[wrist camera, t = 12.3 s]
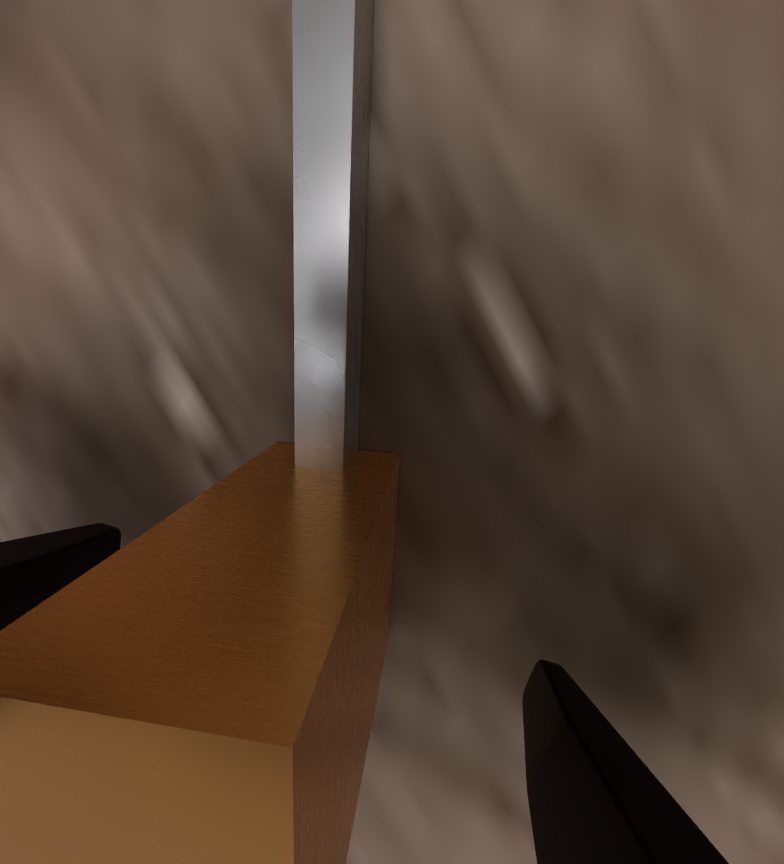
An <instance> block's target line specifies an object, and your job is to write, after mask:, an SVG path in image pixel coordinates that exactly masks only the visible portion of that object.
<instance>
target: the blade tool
mask: <svg viewBox="0 0 784 864" xmlns="http://www.w3.org/2000/svg"><path fill="white" fill-rule="evenodd" d="M373 14H374V0H292V30H293V212H294V395H295V444H289V443H278V442H277V443H275V444H274V445H272V446H271V447H269V448H268V449H266V450H265V451H264V452H262V453H261V454H259V455H258V456H256V457H255V458H253V459H252V460H250V461H249V462H247V463H246V464H244V465H243V466H242V467H240V468H239V469H237V470H236V471H234V472H233V473H231V474H230V475H228V476H227V477H225V478H224V479H222V480H221V481H220V482H218V483H217V484H215V485H214V486H212V487H211V488H209V489H208V490H206V491H205V492H203V493H202V494H200V495H199V496H198V497H196V498H195V499H193V500H192V501H190V502H189V503H187V504H186V505H184V506H183V507H181V508H180V509H178V510H177V511H176V512H174V513H173V514H171V515H170V516H168V517H167V518H165V519H164V520H162V521H161V522H159V523H158V524H156V525H155V526H153V527H152V528H151V529H149V530H148V531H146V532H145V533H143V534H142V535H140V536H139V537H137V538H136V539H134V540H133V541H131V542H130V543H129V544H127V545H126V546H124V547H123V548H121V549H120V550H118V551H117V552H115V553H114V554H112V555H111V556H109V557H108V558H107V559H105V560H104V561H102V562H101V563H99V564H98V565H96V566H95V567H93V568H92V569H90V570H89V571H87V572H86V573H85V574H83V575H82V576H80V577H79V578H77V579H76V580H74V581H73V582H71V583H70V584H68V585H67V586H65V587H64V588H62V589H61V590H60V591H58V592H57V593H55V594H54V595H52V596H51V597H49V598H48V599H46V600H45V601H43V602H42V603H40V604H39V605H38V606H36V607H35V608H33V609H32V610H30V611H29V612H27V613H26V614H24V615H23V616H21V617H20V618H18V619H17V620H16V621H14V622H13V623H11V624H10V625H8V626H7V627H5V628H4V629H2V630H1V631H0V864H346V859H347V854H348V849H349V843H350V838H351V833H352V827H353V822H354V817H355V811H356V806H357V801H358V795H359V790H360V785H361V779H362V774H363V769H364V763H365V758H366V753H367V747H368V742H369V736H370V731H371V726H372V720H373V715H374V710H375V704H376V699H377V694H378V688H379V683H380V678H381V672H382V667H383V662H384V656H385V651H386V646H387V640H388V635H389V622H390V606H391V590H392V574H393V558H394V542H395V526H396V510H397V494H398V478H399V462H400V454H399V453H388V452H377V451H366V450H358V438H359V410H360V382H361V353H362V325H363V297H364V268H365V240H366V212H367V184H368V155H369V127H370V99H371V71H372V42H373Z"/></svg>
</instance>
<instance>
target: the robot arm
mask: <svg viewBox="0 0 784 864" xmlns="http://www.w3.org/2000/svg"><path fill="white" fill-rule="evenodd" d="M120 543H121V532H120V530H119V529H118V528H117V527H113V526H110V525H107V524H103V523H96V524H91V525H86V526H81V527H76V528H71V529H66V530H61V531H56V532H50V533H45V534H40V535H35V536H30V537H25V538H20V539H15V540H10V541H5V542H0V631H1V630H2V629H4V628H5V627H7V626H8V625H10V624H11V623H13V622H14V621H16V620H17V619H18V618H20V617H21V616H23V615H24V614H26V613H27V612H29V611H30V610H32V609H33V608H35V607H36V606H38V605H39V604H40V603H42V602H43V601H45V600H46V599H48V598H49V597H51V596H52V595H54V594H55V593H57V592H58V591H60V590H61V589H62V588H64V587H65V586H67V585H68V584H70V583H71V582H73V581H74V580H76V579H77V578H79V577H80V576H82V575H83V574H85V573H86V572H87V571H89V570H90V569H92V568H93V567H95V566H96V565H98V564H99V563H101V562H102V561H104V560H105V559H107V558H108V557H109V556H111V555H112V554H114V553H115V552H117V551H118V550H120ZM523 723H524V743H525V764H526V781H527V793H528V801H529V809H530V816H531V823H532V830H533V837H534V844H535V851H536V858H537V864H729V863H728V862H727V861H726V860H725V858H724V857H723V856H722V855H721V854H720V852H719V851H718V850H717V849H716V848H715V847H714V845H713V844H712V843H711V842H710V841H709V839H708V838H707V837H706V836H705V835H704V834H703V832H702V831H701V830H700V829H699V828H698V827H697V825H696V824H695V823H694V822H693V821H692V819H691V818H690V817H689V816H688V815H687V814H686V812H685V811H684V810H683V809H682V808H681V806H680V805H679V804H678V803H677V802H676V801H675V799H674V798H673V797H672V796H671V795H670V793H669V792H668V791H667V790H666V789H665V788H664V786H663V785H662V784H661V783H660V782H659V780H658V779H657V778H656V777H655V776H654V775H653V773H652V772H651V771H650V770H649V769H648V767H647V766H646V765H645V764H644V763H643V762H642V760H641V759H640V758H639V757H638V756H637V755H636V753H635V752H634V751H633V750H632V749H631V747H630V746H629V745H628V744H627V743H626V742H625V740H624V739H623V738H622V737H621V736H620V734H619V733H618V732H617V731H616V730H615V729H614V727H613V726H612V725H611V724H610V723H609V721H608V720H607V719H606V718H605V717H604V716H603V714H602V713H601V712H600V711H599V710H598V708H597V707H596V706H595V705H594V704H593V703H592V701H591V700H590V699H589V698H588V697H587V695H586V694H585V693H584V692H583V691H582V690H581V688H580V687H579V686H578V685H577V684H576V682H575V681H574V680H573V679H572V678H571V677H570V675H569V674H568V673H567V672H566V671H565V670H564V668H563V667H562V666H561V665H559V664H556V663H553V662H550V661H547V660H543V659H541V660H538V661H537V663H536V664H535V666H534V669H533V671H532V673H531V676H530V678H529V680H528V682H527V685H526V687H525V690H524V693H523Z"/></svg>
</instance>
